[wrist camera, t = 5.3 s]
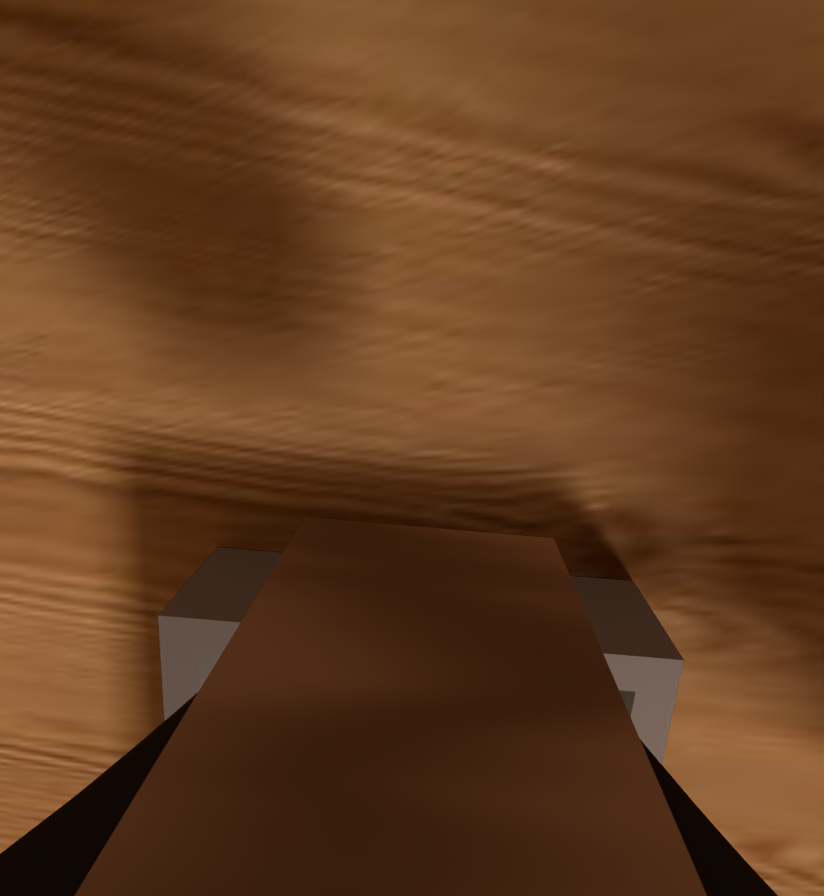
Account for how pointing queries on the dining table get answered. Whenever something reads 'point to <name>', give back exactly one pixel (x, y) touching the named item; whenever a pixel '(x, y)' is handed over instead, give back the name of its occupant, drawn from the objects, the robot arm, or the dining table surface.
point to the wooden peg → (404, 738)
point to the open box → (245, 571)
